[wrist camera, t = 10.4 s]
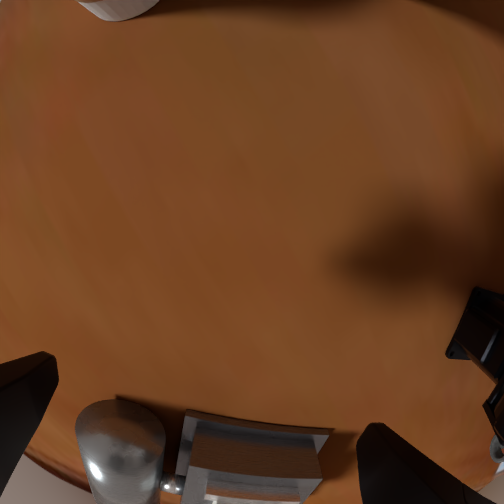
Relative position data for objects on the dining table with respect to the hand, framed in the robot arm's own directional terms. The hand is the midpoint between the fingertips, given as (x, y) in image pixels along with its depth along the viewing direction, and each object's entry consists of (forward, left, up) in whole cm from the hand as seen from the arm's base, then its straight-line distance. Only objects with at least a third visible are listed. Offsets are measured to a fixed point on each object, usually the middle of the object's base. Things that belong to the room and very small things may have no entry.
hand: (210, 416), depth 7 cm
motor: (-1, +19, -12) cm, 23 cm away
